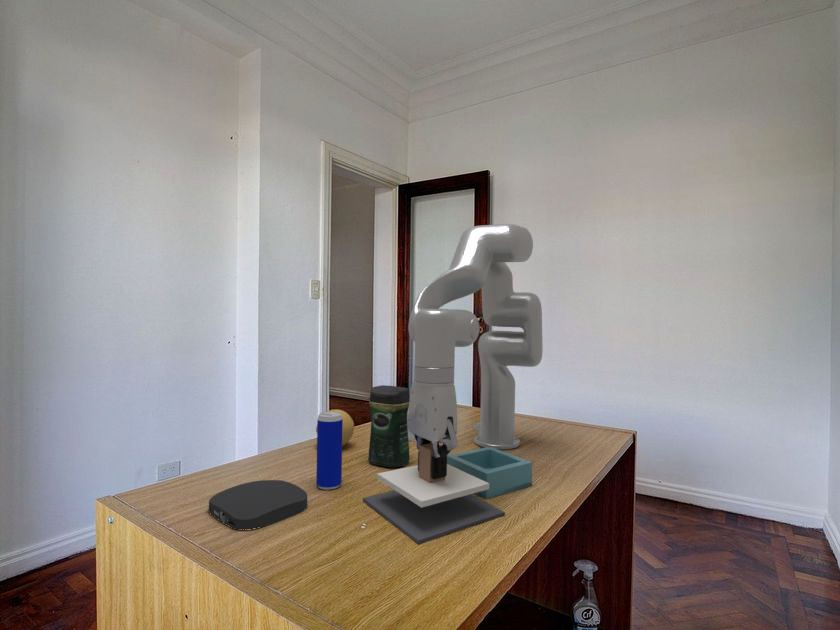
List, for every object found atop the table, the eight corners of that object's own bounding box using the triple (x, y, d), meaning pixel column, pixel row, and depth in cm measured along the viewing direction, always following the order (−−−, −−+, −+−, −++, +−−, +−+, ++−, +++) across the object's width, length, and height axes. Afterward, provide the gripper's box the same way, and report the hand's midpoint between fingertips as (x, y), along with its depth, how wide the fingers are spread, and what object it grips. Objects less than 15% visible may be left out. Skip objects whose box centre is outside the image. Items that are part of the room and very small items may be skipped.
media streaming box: (315, 508, 84) (316, 492, 84) (241, 538, 73) (241, 519, 73) (272, 487, 93) (272, 473, 93) (200, 511, 82) (200, 494, 82)
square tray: (446, 478, 99) (446, 455, 99) (489, 467, 107) (489, 446, 107) (486, 499, 89) (486, 473, 88) (531, 485, 96) (532, 462, 96)
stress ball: (346, 456, 116) (367, 426, 122) (322, 431, 112) (345, 401, 118) (325, 453, 123) (346, 425, 129) (302, 429, 119) (325, 401, 125)
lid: (376, 478, 86) (377, 442, 86) (439, 465, 94) (440, 431, 94) (421, 507, 74) (422, 464, 73) (489, 488, 82) (490, 450, 82)
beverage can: (345, 483, 95) (347, 412, 95) (333, 492, 91) (334, 417, 90) (324, 479, 97) (325, 410, 97) (311, 488, 92) (312, 415, 92)
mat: (362, 501, 87) (362, 498, 87) (441, 481, 97) (441, 478, 97) (418, 544, 71) (418, 540, 71) (504, 515, 82) (504, 511, 82)
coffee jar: (414, 461, 110) (415, 385, 110) (397, 471, 103) (398, 390, 103) (381, 454, 115) (382, 382, 115) (362, 463, 108) (364, 386, 108)
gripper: (393, 371, 89) (392, 464, 89) (445, 383, 75) (443, 493, 75) (425, 369, 93) (423, 458, 93) (479, 380, 79) (476, 484, 79)
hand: (432, 473), depth 84 cm, fingers closed on lid, 3 cm apart
